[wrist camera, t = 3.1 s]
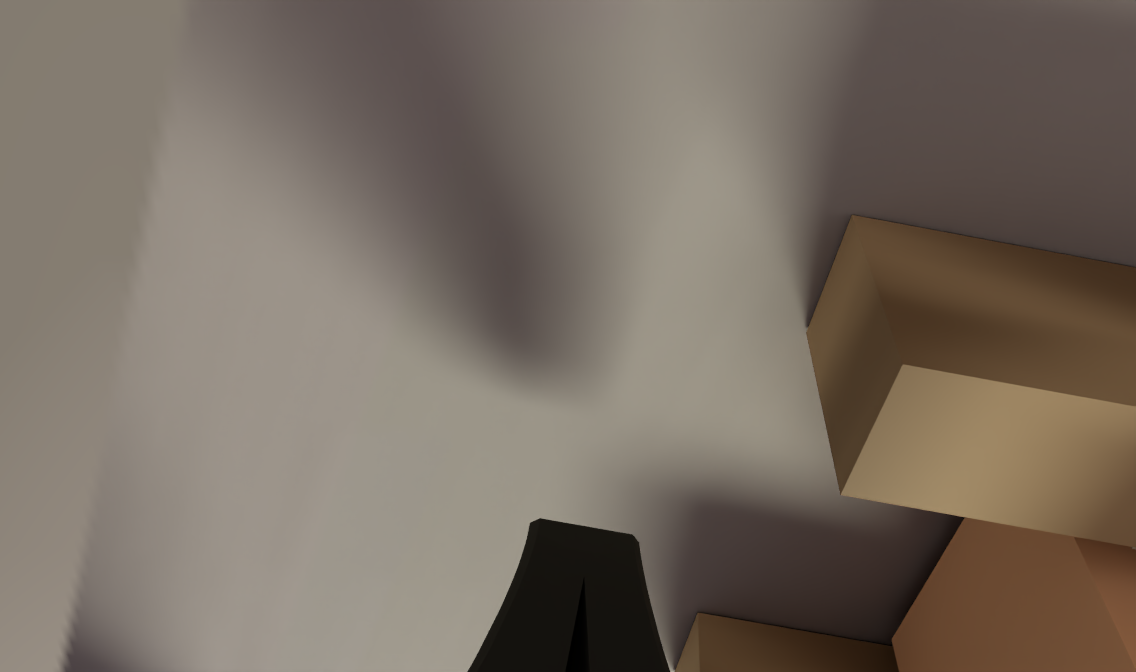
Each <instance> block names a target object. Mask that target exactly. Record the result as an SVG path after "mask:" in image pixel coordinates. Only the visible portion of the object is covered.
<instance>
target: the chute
mask: <svg viewBox="0 0 1136 672" xmlns="http://www.w3.org/2000/svg"><path fill="white" fill-rule="evenodd" d="M806 334H807V338H808V343H809V348H810V353H811V357H812V362H813V367H814V372H815V376H816V381H817V386H818V391H819V395H820V400H821V405H822V409H823V414H824V419H825V424H826V428H827V433H828V438H829V443H830V447H831V452H832V457H833V462H834V466H835V471H836V476H837V480H838V485H839V490H840V495H843V496H849V497H855V498H860V499H866V500H871V501H877V502H883V503H888V504H894V505H900V506H905V507H911V508H916V509H922V510H928V511H933V512H939V513H944V514H950V515H956V516H961V517H967V518H972V519H978V520H984V521H989V522H995V523H1001V524H1006V525H1012V526H1017V527H1023V528H1029V529H1034V530H1040V531H1045V532H1051V533H1057V534H1062V535H1068V536H1073V537H1079V538H1085V539H1090V540H1096V541H1101V542H1107V543H1113V544H1118V545H1124V546H1130V547H1131V548H1132V549H1136V268H1135V267H1130V266H1124V265H1119V264H1113V263H1108V262H1103V261H1097V260H1092V259H1087V258H1081V257H1076V256H1070V255H1065V254H1060V253H1054V252H1049V251H1044V250H1038V249H1033V248H1027V247H1022V246H1017V245H1011V244H1006V243H1001V242H995V241H990V240H984V239H979V238H974V237H968V236H963V235H958V234H952V233H947V232H941V231H936V230H931V229H925V228H920V227H915V226H909V225H904V224H898V223H893V222H888V221H882V220H877V219H871V218H866V217H861V216H855V215H852V216H851V219H850V221H849V224H848V226H847V229H846V232H845V234H844V237H843V239H842V242H841V244H840V247H839V250H838V252H837V255H836V257H835V260H834V263H833V265H832V268H831V270H830V273H829V275H828V278H827V281H826V283H825V286H824V288H823V291H822V293H821V296H820V299H819V301H818V304H817V306H816V309H815V312H814V314H813V317H812V319H811V322H810V324H809V327H808V330H807V332H806ZM675 672H899V669H898V665H897V661H896V657H895V652H894V648H893V646H887V645H881V644H875V643H870V642H864V641H858V640H852V639H847V638H841V637H835V636H830V635H824V634H818V633H812V632H807V631H801V630H795V629H789V628H784V627H778V626H772V625H766V624H761V623H755V622H749V621H744V620H738V619H732V618H726V617H721V616H715V615H709V614H703V613H697V616H696V618H695V621H694V623H693V626H692V629H691V631H690V634H689V636H688V639H687V641H686V644H685V647H684V649H683V652H682V654H681V657H680V660H679V662H678V665H677V667H676V670H675Z"/></svg>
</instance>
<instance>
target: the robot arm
mask: <svg viewBox="0 0 1136 672" xmlns="http://www.w3.org/2000/svg"><path fill="white" fill-rule="evenodd" d="M468 672H670V670H669V667H668V663H667V660H666V657H665V654H664V651H663V647H662V644H661V641H660V637H659V634H658V630H657V626H656V622H655V619H654V615H653V611H652V607H651V603H650V599H649V595H648V590H647V586H646V581H645V576H644V571H643V566H642V560H641V554H640V547H639V542H638V541H637V539H636V538H635V537H634V536H633V535H632V534H626V533H620V532H614V531H609V530H603V529H597V528H592V527H586V526H580V525H575V524H569V523H563V522H558V521H552V520H546V519H541V518H540V519H538V520H535V521H533V522H531V523H530V526H529V531H528V536H527V540H526V544H525V547H524V550H523V554H522V557H521V560H520V563H519V565H518V568H517V571H516V573H515V576H514V578H513V581H512V583H511V586H510V588H509V590H508V592H507V595H506V597H505V599H504V602H503V604H502V606H501V608H500V610H499V612H498V614H497V616H496V618H495V620H494V622H493V624H492V626H491V628H490V630H489V632H488V634H487V636H486V638H485V640H484V642H483V644H482V646H481V648H480V650H479V652H478V654H477V656H476V658H475V660H474V661H473V663H472V665H471V667H470V668H469V670H468Z"/></svg>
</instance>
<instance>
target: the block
mask: <svg viewBox="0 0 1136 672" xmlns="http://www.w3.org/2000/svg"><path fill="white" fill-rule="evenodd" d="M892 644H893V648H894V652H895V657H896V661H897V665H898V669H899V672H1136V549H1132V548H1131V547H1130V546H1124V545H1118V544H1113V543H1107V542H1101V541H1096V540H1090V539H1085V538H1079V537H1073V536H1068V535H1062V534H1057V533H1051V532H1045V531H1040V530H1034V529H1029V528H1023V527H1017V526H1012V525H1006V524H1001V523H995V522H989V521H984V520H978V519H972V518H967V517H965V518H964V520H963V522H962V523H961V525H960V527H959V528H958V530H957V532H956V533H955V535H954V536H953V538H952V540H951V541H950V543H949V545H948V546H947V548H946V550H945V551H944V553H943V555H942V556H941V558H940V560H939V561H938V563H937V565H936V566H935V568H934V570H933V571H932V573H931V575H930V576H929V578H928V580H927V581H926V583H925V585H924V586H923V588H922V590H921V591H920V593H919V595H918V596H917V598H916V600H915V601H914V603H913V605H912V606H911V608H910V610H909V611H908V613H907V615H906V616H905V618H904V620H903V621H902V623H901V625H900V626H899V628H898V630H897V631H896V633H895V635H894V636H893V638H892Z"/></svg>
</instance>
